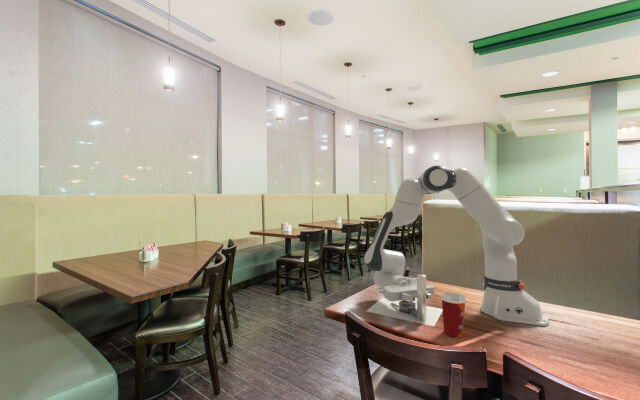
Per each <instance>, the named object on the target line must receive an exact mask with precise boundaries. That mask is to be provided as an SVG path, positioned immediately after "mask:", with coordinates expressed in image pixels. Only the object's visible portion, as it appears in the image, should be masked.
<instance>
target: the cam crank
mask: <svg viewBox="0 0 640 400" xmlns="http://www.w3.org/2000/svg"><path fill="white" fill-rule="evenodd" d="M416 278H417V298H416V303H415V301H412V302H411V301H409V300H399V301H400V302H399V311H401V312H403V313H410V314H412V315H413V316H414V317H416V318H417V319H418V320H420V321H426V306H427V299H426V282H427V275H426V274H424V273H418V274H416ZM416 304H417V309H416Z"/></svg>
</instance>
